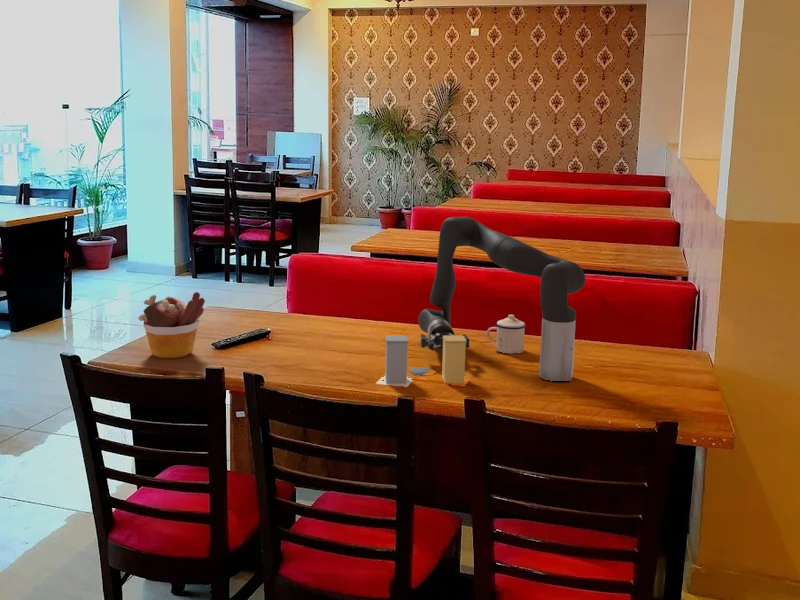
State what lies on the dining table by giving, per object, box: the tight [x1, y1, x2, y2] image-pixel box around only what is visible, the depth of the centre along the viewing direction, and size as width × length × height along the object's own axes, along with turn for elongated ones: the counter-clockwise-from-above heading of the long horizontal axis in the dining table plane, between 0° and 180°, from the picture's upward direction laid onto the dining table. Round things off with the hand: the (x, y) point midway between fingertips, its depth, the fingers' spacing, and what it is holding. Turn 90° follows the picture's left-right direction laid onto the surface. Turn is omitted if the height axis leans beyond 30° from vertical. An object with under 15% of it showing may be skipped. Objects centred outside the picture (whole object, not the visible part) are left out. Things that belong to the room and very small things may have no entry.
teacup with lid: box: [486, 314, 526, 354], centre depth 262 cm, size 12×9×12 cm
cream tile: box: [375, 375, 414, 388], centre depth 229 cm, size 9×9×1 cm
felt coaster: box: [408, 366, 432, 377], centre depth 238 cm, size 8×8×1 cm
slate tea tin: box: [384, 335, 409, 384], centre depth 228 cm, size 6×6×12 cm
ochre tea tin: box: [441, 335, 467, 383], centre depth 229 cm, size 6×6×12 cm
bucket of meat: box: [137, 291, 206, 360], centre depth 249 cm, size 20×16×20 cm
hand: (447, 347), depth 239 cm, fingers open, 8 cm apart
